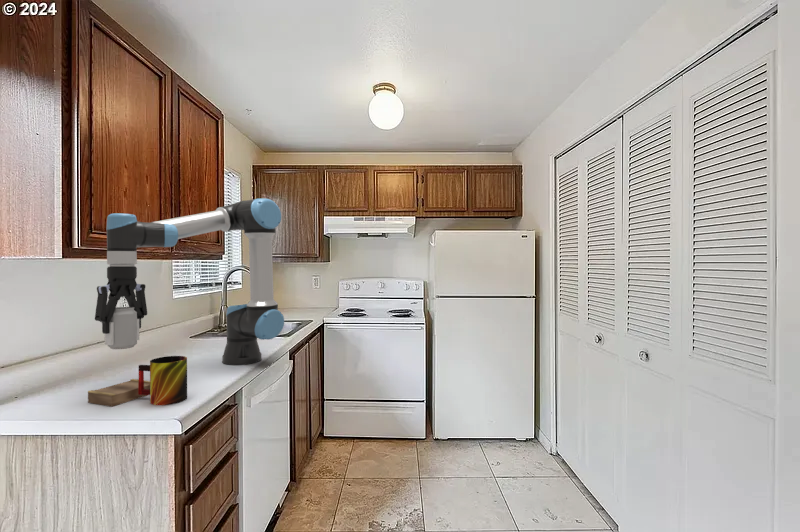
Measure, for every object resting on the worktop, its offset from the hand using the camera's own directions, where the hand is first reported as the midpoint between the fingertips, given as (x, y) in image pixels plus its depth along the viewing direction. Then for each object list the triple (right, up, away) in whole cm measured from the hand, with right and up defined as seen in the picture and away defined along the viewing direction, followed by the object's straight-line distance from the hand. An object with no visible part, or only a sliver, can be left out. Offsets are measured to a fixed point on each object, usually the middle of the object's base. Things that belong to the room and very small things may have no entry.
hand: (122, 341), depth 131 cm
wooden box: (0, -17, 0) cm, 17 cm away
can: (0, -2, 0) cm, 2 cm away
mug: (+13, -17, -3) cm, 22 cm away
